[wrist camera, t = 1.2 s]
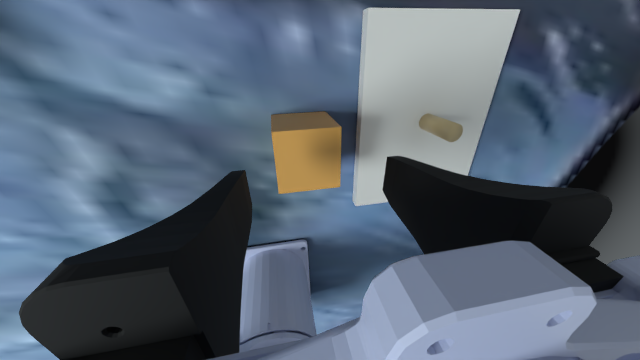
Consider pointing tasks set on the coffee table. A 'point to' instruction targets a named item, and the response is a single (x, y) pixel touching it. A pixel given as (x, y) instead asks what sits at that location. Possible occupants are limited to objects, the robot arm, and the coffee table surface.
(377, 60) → the plate
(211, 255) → the robot arm
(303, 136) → the tan cardboard-like box
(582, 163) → the coffee table surface
